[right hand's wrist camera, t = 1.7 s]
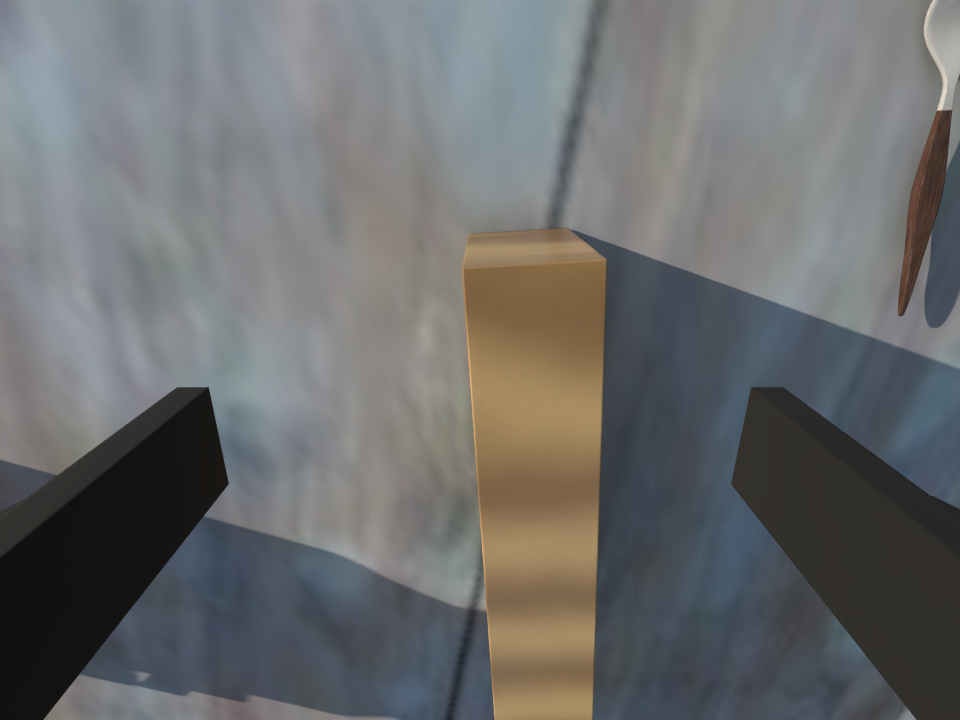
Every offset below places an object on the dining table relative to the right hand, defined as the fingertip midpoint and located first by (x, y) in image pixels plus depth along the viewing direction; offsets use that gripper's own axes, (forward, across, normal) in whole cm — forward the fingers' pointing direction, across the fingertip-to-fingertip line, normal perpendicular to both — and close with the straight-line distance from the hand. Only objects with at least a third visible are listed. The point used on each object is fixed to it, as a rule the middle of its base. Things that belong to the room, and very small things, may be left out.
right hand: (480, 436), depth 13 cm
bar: (+14, +3, -10) cm, 17 cm away
